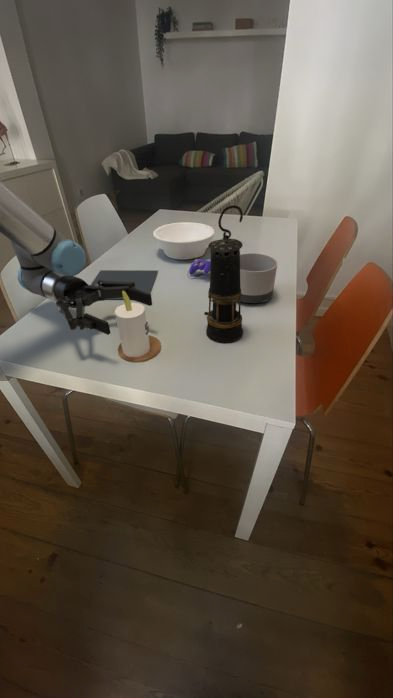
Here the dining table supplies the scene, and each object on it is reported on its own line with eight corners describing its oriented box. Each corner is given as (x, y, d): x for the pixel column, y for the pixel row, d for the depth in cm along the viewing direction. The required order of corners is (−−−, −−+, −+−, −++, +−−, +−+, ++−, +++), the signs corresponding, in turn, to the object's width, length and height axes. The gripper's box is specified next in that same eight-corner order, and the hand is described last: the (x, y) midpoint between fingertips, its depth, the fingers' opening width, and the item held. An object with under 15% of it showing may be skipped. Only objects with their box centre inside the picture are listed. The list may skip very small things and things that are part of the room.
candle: (146, 358, 71) (137, 299, 62) (118, 356, 72) (106, 297, 62) (154, 342, 76) (146, 284, 66) (127, 339, 77) (117, 283, 67)
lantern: (202, 325, 82) (200, 200, 63) (235, 320, 83) (244, 196, 65) (211, 346, 75) (212, 212, 56) (248, 340, 76) (261, 208, 58)
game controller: (177, 266, 102) (197, 251, 106) (187, 288, 106) (206, 273, 111) (199, 266, 95) (219, 249, 99) (208, 289, 99) (227, 272, 104)
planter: (274, 288, 97) (279, 255, 90) (269, 309, 87) (274, 274, 81) (233, 283, 100) (235, 251, 94) (223, 303, 90) (225, 268, 84)
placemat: (81, 299, 94) (80, 298, 94) (100, 271, 110) (100, 270, 109) (148, 300, 93) (147, 299, 93) (158, 271, 109) (157, 270, 108)
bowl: (164, 241, 131) (163, 220, 126) (218, 244, 128) (219, 223, 122) (147, 263, 114) (144, 240, 109) (209, 267, 110) (209, 243, 105)
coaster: (113, 361, 71) (113, 360, 71) (123, 335, 79) (123, 334, 79) (157, 362, 70) (157, 361, 70) (163, 336, 78) (163, 334, 78)
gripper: (106, 284, 89) (166, 303, 80) (27, 326, 73) (90, 357, 63) (101, 258, 84) (164, 276, 75) (14, 297, 68) (81, 326, 59)
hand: (130, 313), depth 69 cm, fingers open, 13 cm apart
